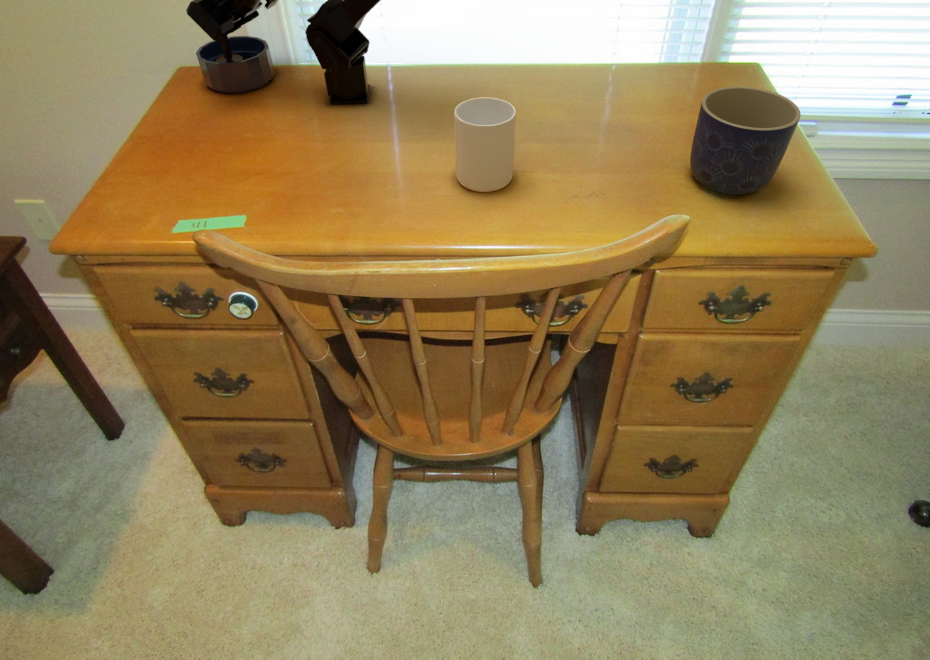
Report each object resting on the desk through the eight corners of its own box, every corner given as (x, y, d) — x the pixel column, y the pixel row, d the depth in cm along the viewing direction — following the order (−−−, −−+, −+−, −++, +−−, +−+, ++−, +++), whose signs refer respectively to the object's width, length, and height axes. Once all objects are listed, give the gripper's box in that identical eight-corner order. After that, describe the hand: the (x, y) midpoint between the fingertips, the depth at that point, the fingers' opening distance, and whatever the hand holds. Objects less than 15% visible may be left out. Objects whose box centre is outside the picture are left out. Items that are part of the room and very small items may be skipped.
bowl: (280, 64, 121) (273, 34, 117) (268, 93, 112) (260, 62, 108) (215, 66, 121) (206, 36, 117) (198, 95, 112) (187, 64, 108)
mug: (453, 151, 97) (451, 86, 90) (506, 149, 98) (508, 83, 90) (457, 195, 89) (456, 127, 82) (516, 192, 89) (519, 124, 82)
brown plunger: (249, 74, 115) (229, -7, 105) (223, 81, 113) (200, -1, 104) (241, 65, 118) (220, -15, 108) (216, 71, 116) (192, -9, 107)
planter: (695, 203, 87) (717, 130, 79) (674, 157, 95) (691, 86, 88) (785, 202, 87) (816, 128, 79) (756, 155, 95) (781, 85, 88)
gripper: (247, -87, 104) (210, -20, 115) (176, -56, 92) (142, 16, 103) (298, -30, 108) (258, 30, 119) (237, 7, 96) (198, 70, 106)
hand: (216, 35), depth 111 cm, fingers closed on brown plunger
